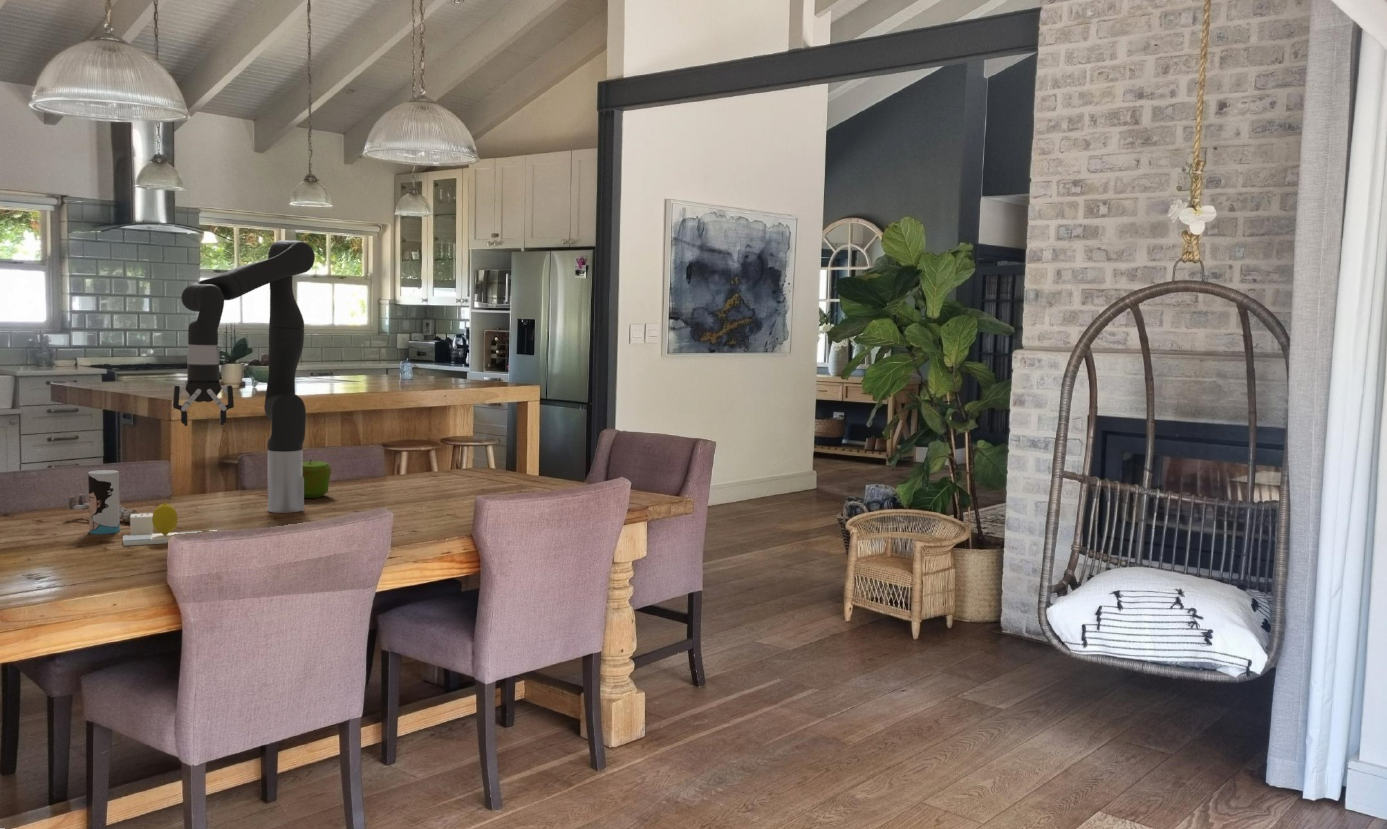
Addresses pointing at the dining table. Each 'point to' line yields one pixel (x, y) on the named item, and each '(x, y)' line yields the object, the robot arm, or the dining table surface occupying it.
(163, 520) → the lemon
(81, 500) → the figurine
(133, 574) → the dining table surface
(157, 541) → the board
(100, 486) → the cup
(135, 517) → the off-white cube
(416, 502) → the dining table surface
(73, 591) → the dining table surface
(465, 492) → the dining table surface
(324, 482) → the apple
